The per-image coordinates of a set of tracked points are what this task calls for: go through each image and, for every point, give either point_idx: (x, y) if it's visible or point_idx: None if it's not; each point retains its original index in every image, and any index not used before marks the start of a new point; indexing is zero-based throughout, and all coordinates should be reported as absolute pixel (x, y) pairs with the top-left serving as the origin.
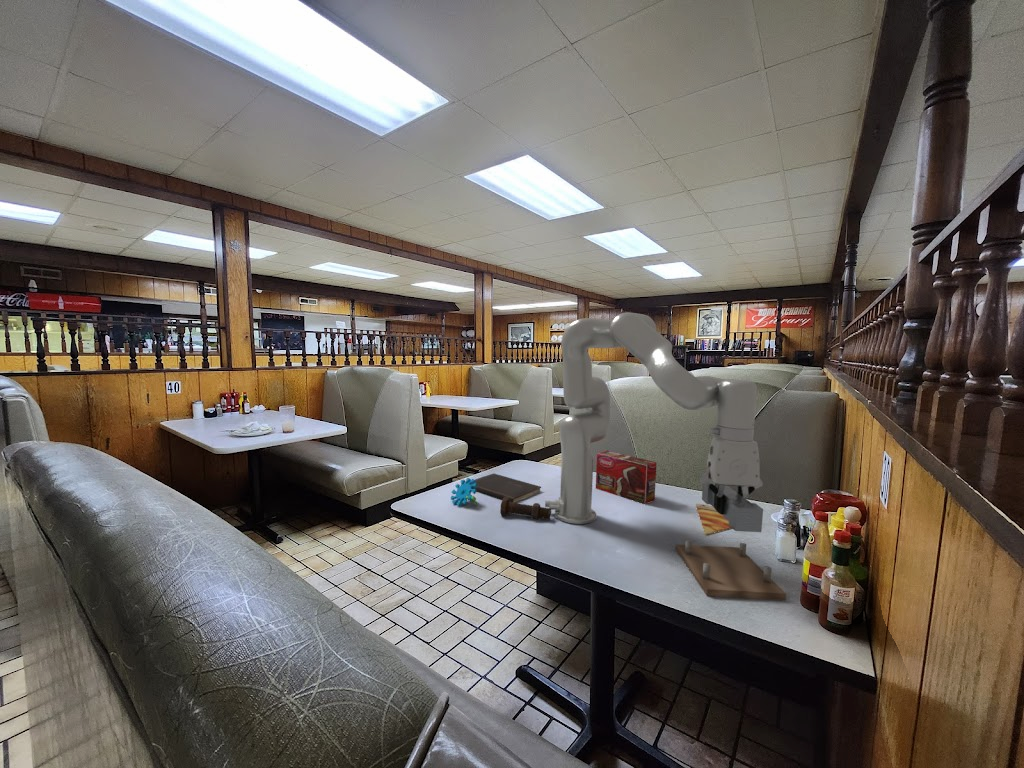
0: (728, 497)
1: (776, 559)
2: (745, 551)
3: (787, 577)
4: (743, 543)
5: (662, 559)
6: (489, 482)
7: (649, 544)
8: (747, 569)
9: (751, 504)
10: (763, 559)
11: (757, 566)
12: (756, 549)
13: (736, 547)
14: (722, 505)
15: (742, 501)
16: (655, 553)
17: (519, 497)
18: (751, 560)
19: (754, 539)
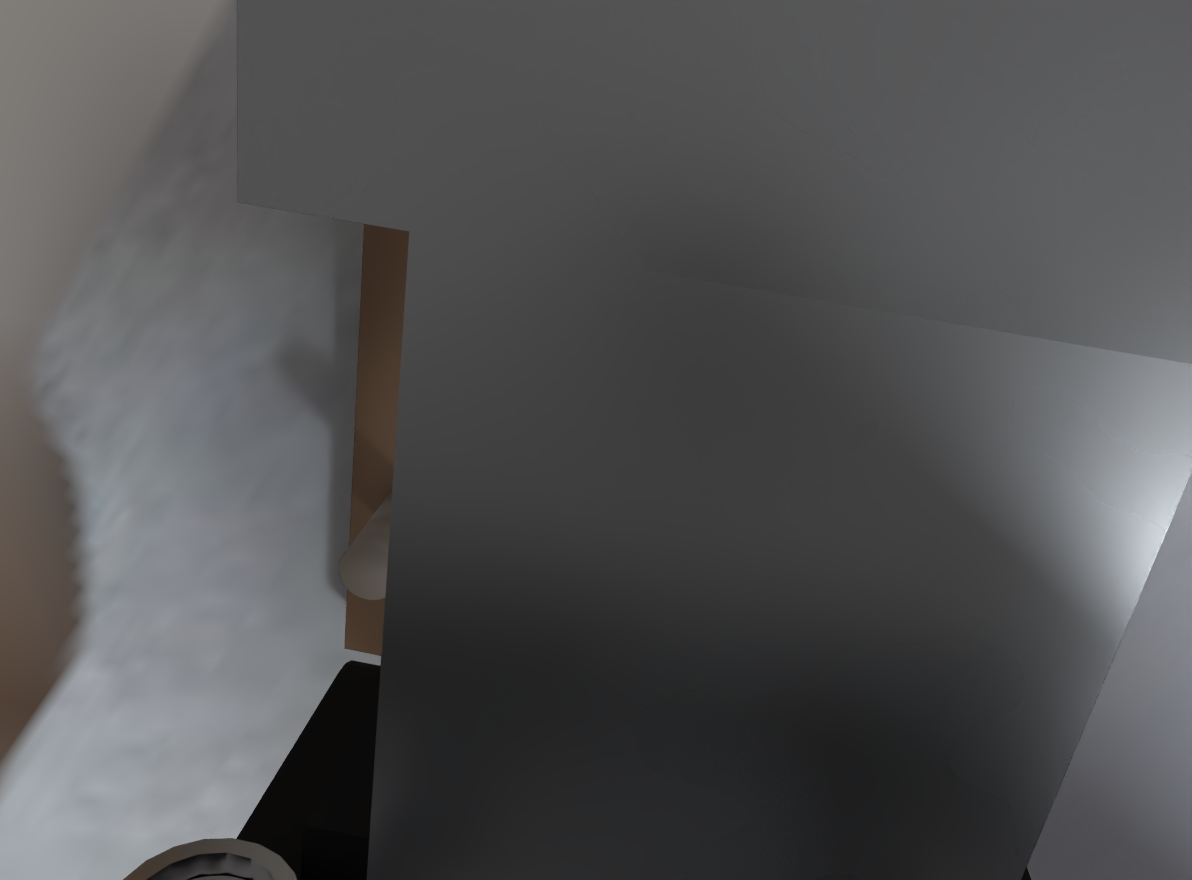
0: (1002, 873)
1: (98, 494)
2: (375, 517)
3: (160, 213)
4: (356, 584)
5: (1169, 598)
6: None
7: (1109, 836)
8: None
9: (513, 45)
10: (209, 505)
11: (374, 324)
12: (181, 652)
13: (375, 649)
14: None
15: (700, 452)
16: (1162, 697)
17: None
18: (367, 431)
19: (113, 787)
